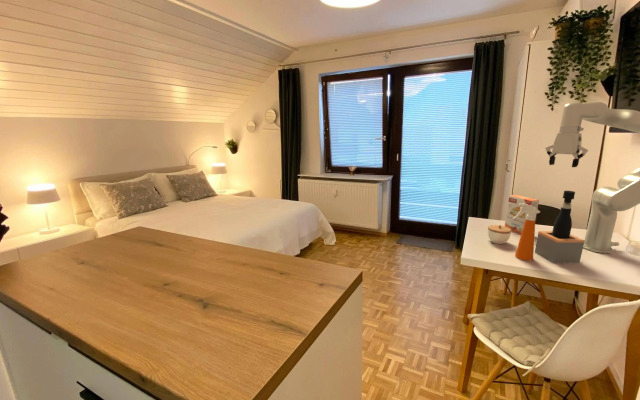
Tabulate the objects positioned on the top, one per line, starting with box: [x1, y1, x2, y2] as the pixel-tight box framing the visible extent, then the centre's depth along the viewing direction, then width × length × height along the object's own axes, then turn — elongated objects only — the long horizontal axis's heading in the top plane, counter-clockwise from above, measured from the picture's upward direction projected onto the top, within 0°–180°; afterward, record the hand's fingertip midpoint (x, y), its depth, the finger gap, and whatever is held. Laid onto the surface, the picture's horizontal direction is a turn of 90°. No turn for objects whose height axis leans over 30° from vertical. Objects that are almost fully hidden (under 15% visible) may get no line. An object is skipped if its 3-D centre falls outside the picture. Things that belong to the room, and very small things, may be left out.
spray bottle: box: [513, 203, 541, 261], centre depth 138 cm, size 7×11×26 cm, turn 77°
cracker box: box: [504, 194, 540, 235], centre depth 172 cm, size 14×6×21 cm, turn 17°
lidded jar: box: [487, 224, 512, 245], centre depth 159 cm, size 11×11×9 cm
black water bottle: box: [551, 190, 576, 239], centre depth 137 cm, size 6×6×30 cm
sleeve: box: [534, 230, 585, 264], centre depth 139 cm, size 12×12×11 cm
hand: (562, 165), depth 146 cm, fingers open, 9 cm apart
